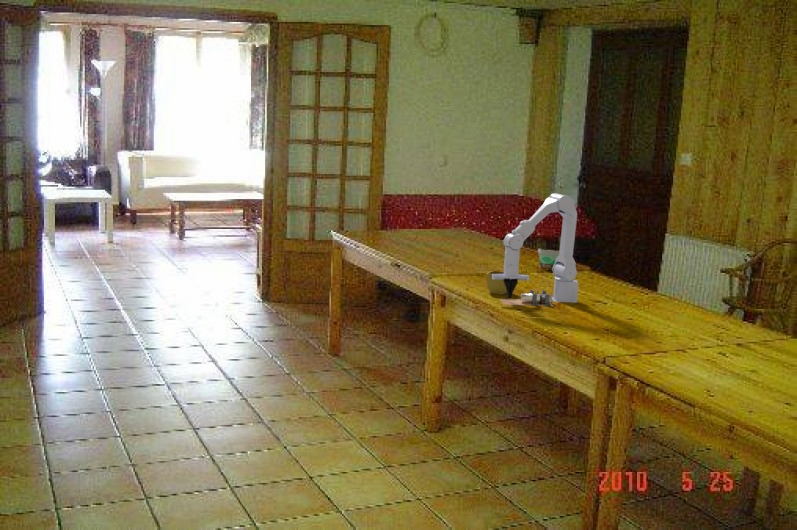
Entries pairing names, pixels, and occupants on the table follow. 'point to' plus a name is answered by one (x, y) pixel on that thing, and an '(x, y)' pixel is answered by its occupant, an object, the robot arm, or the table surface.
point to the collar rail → (534, 298)
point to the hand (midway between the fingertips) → (509, 297)
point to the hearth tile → (517, 302)
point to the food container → (547, 258)
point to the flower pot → (495, 283)
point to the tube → (540, 299)
